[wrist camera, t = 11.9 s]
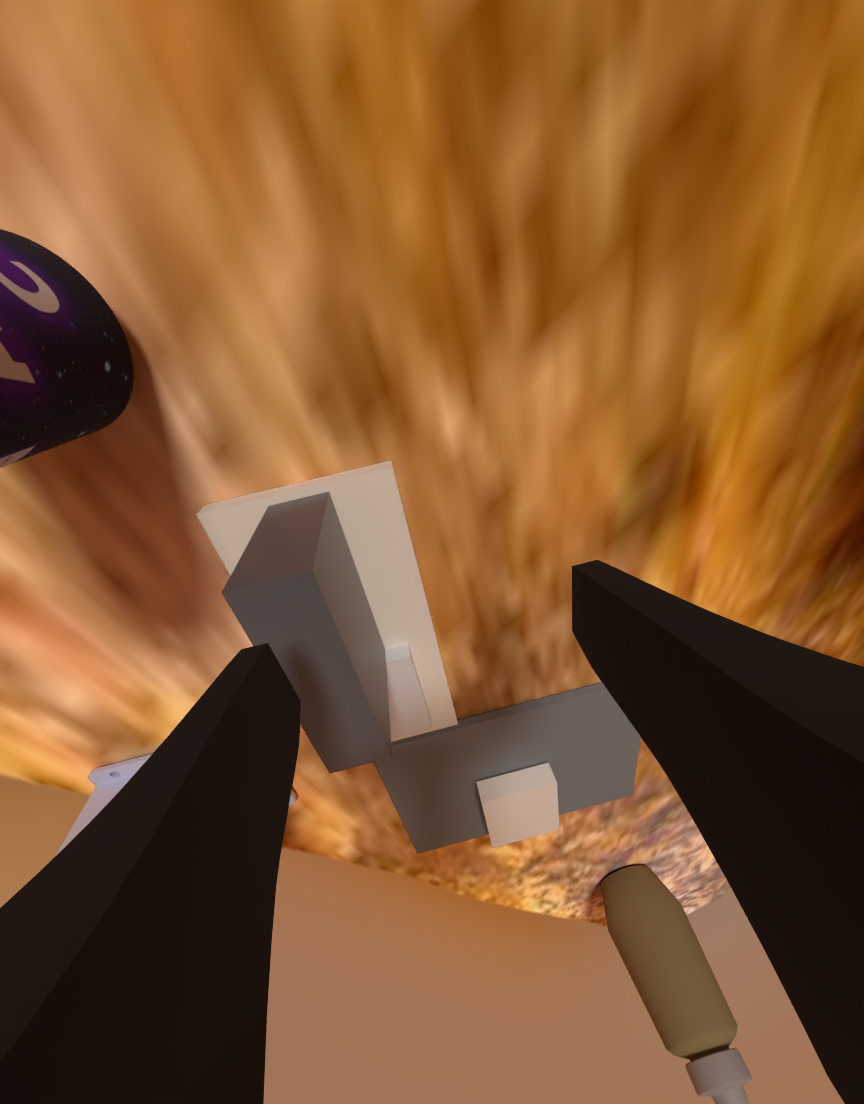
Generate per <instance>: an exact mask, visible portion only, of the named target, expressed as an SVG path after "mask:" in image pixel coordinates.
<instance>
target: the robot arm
mask: <svg viewBox="0 0 864 1104" xmlns="http://www.w3.org/2000/svg"><path fill="white" fill-rule="evenodd" d="M572 631H573V633H574V635H575V637H576V639H577V641H578V643H579V645H580V647H581V648H582V650H583V652H584V654H585V656H586V658H587V659H588V661H589V663H590V665H591V667H592V668H593V670H594V671H595V673H596V674H597V676H598V677H599V679H600V680H601V681H602V683H603V684H604V686H605V687H606V689H607V690H608V691H609V693H610V694H611V696H612V697H613V699H614V700H615V701H616V703H617V704H618V706H619V707H620V708H621V710H622V711H623V713H624V714H625V715H626V717H627V718H628V720H629V721H630V722H631V724H632V725H633V727H634V728H635V729H636V731H637V732H638V734H639V735H640V736H641V738H642V739H643V741H644V742H645V744H646V745H647V746H648V748H649V749H650V751H651V752H652V753H653V755H654V756H655V758H656V759H657V761H658V762H659V764H660V765H661V767H662V768H663V770H664V771H665V773H666V775H667V776H668V778H669V779H670V781H671V783H672V784H673V786H674V788H675V790H676V791H677V793H678V795H679V796H680V798H681V800H682V802H683V803H684V805H685V807H686V808H687V810H688V812H689V813H690V815H691V817H692V819H693V820H694V822H695V824H696V825H697V827H698V829H699V831H700V833H701V834H702V836H703V838H704V840H705V841H706V843H707V845H708V847H709V849H710V850H711V852H712V854H713V856H714V857H715V859H716V861H717V863H718V865H719V866H720V868H721V870H722V872H723V874H724V875H725V877H726V879H727V881H728V882H729V884H730V886H731V888H732V890H733V892H734V894H735V896H736V897H737V899H738V901H739V903H740V905H741V907H742V909H743V910H744V912H745V914H746V916H747V918H748V920H749V922H750V924H751V925H752V927H753V929H754V931H755V933H756V935H757V937H758V939H759V940H760V942H761V944H762V946H763V948H764V950H765V952H766V954H767V956H768V957H769V960H770V961H771V963H772V965H773V967H774V969H775V971H776V973H777V975H778V977H779V979H780V981H781V983H782V985H783V987H784V989H785V991H786V993H787V995H788V997H789V999H790V1001H791V1003H792V1005H793V1007H794V1009H795V1011H796V1013H797V1015H798V1017H799V1019H800V1020H801V1023H802V1025H803V1026H804V1028H805V1030H806V1032H807V1035H808V1037H809V1039H810V1041H811V1043H812V1045H813V1047H814V1049H815V1051H816V1053H817V1055H818V1057H819V1059H820V1061H821V1063H822V1065H823V1067H824V1069H825V1072H826V1074H827V1076H828V1077H829V1079H830V1081H831V1082H832V1084H833V1085H834V1087H835V1088H836V1090H837V1092H838V1093H839V1095H840V1097H841V1098H842V1100H843V1101H844V1103H845V1104H864V667H862V666H859V665H856V664H852V663H849V662H846V661H843V660H840V659H836V658H833V657H830V656H828V655H825V654H822V653H819V652H816V651H813V650H810V649H807V648H804V647H801V646H798V645H795V644H793V643H790V642H787V641H784V640H781V639H778V638H776V637H773V636H770V635H768V634H765V633H762V632H760V631H757V630H754V629H752V628H749V627H747V626H744V625H742V624H740V623H737V622H735V621H732V620H730V619H727V618H725V617H722V616H720V615H717V614H715V613H713V612H710V611H708V610H706V609H703V608H701V607H699V606H696V605H694V604H692V603H690V602H687V601H685V600H683V599H681V598H679V597H676V596H674V595H672V594H670V593H668V592H666V591H663V590H661V589H659V588H657V587H655V586H653V585H651V584H648V583H646V582H644V581H642V580H640V579H638V578H636V577H634V576H632V575H630V574H627V573H625V572H623V571H621V570H619V569H617V568H615V567H612V566H610V565H608V564H606V563H603V562H601V561H599V560H595V561H591V562H587V563H583V564H579V565H575V566H572ZM300 711H301V700H300V699H299V697H298V695H297V693H296V692H295V690H294V688H293V686H292V685H291V683H290V681H289V679H288V677H287V676H286V674H285V672H284V670H283V669H282V667H281V665H280V663H279V662H278V660H277V658H276V656H275V655H274V653H273V651H272V649H271V648H270V646H269V644H268V643H265V644H261V645H257V646H253V647H249V648H245V649H241V651H240V652H239V653H238V654H237V655H236V656H235V657H234V658H233V659H232V660H231V662H230V663H229V664H228V665H227V666H226V667H225V669H224V670H223V671H222V672H221V673H220V675H219V676H218V677H217V678H216V679H215V681H214V682H213V683H212V684H211V686H210V687H209V688H208V689H207V690H206V692H205V693H204V694H203V695H202V696H201V698H200V699H199V700H198V701H197V703H196V704H195V705H194V706H193V707H192V708H191V710H190V711H189V712H188V713H187V714H186V716H185V717H184V718H183V719H182V720H181V722H180V723H179V724H178V725H177V726H176V728H175V729H174V730H173V731H172V732H171V734H170V735H169V736H168V737H167V738H166V739H165V741H164V742H163V743H162V744H161V745H160V746H159V747H158V748H157V750H156V751H155V752H154V753H153V754H150V755H146V756H142V757H138V758H134V759H130V760H126V761H122V762H119V763H115V764H111V765H107V766H103V767H99V768H96V769H93V770H92V771H91V773H90V774H89V776H88V779H89V781H90V782H92V783H93V784H94V785H95V786H96V787H95V789H94V791H93V793H92V794H91V796H90V798H89V800H88V801H87V803H86V805H85V806H84V808H83V810H82V811H81V813H80V815H79V817H78V818H77V820H76V822H75V823H74V825H73V827H72V828H71V830H70V832H69V834H68V835H67V837H66V839H65V841H64V842H63V844H62V846H61V847H60V849H59V851H58V852H57V854H56V856H55V857H54V858H53V859H52V860H51V861H50V862H49V864H47V865H46V866H45V867H44V868H43V869H42V870H41V871H40V872H39V873H38V874H37V875H36V876H35V877H34V878H32V879H31V880H30V881H29V882H28V883H27V884H26V885H25V886H24V887H23V888H22V889H21V890H19V891H18V892H17V893H16V894H15V895H14V896H13V897H12V898H11V899H10V900H9V901H8V902H7V903H5V904H4V905H3V906H2V907H1V908H0V1104H263V1098H264V1074H265V1073H264V1072H265V1048H266V1046H265V1045H266V1023H267V1003H268V988H269V971H270V956H271V941H272V929H273V917H274V905H275V892H276V882H277V874H278V867H279V860H280V854H281V848H282V842H283V836H284V831H285V825H286V819H287V813H288V807H289V805H292V804H294V803H295V801H296V794H295V793H294V791H293V790H292V784H293V779H294V772H295V766H296V760H297V754H298V748H299V736H300Z"/></svg>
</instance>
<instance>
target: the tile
mask: <svg viewBox="0 0 864 1104" xmlns="http://www.w3.org/2000/svg"><path fill="white" fill-rule="evenodd" d="M476 783H477V787H478V791H479V795H480V799H481V803H482V807H483V811H484V815H485V819H486V823H487V827H488V831H489V835H490V839H491V843H492V847H493V848H494V847H498V846H501V845H505V844H509V843H512V842H516V841H520V840H523V839H527V838H530V837H534V836H538V835H541V834H545V833H549V832H552V831H556V830H559V812H558V791H557V781H556V779H555V777H554V774H553V772H552V770H551V767H550V765H549V763H545V764H541V765H537V766H533V767H530V768H526V769H522V770H519V771H515V772H511V773H507V774H504V775H500V776H496V777H493V778H489V779H485V780H481V781H478V782H476Z"/></svg>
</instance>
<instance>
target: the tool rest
mask: <svg viewBox="0 0 864 1104" xmlns="http://www.w3.org/2000/svg"><path fill="white" fill-rule="evenodd" d="M325 492H329V493H330V495H331V498H332V501H333V504H334V507H335V509H336V512H337V515H338V518H339V521H340V523H341V526H342V529H343V532H344V535H345V538H346V540H347V543H348V546H349V549H350V552H351V554H352V557H353V560H354V563H355V566H356V568H357V571H358V574H359V577H360V580H361V583H362V585H363V588H364V591H365V594H366V597H367V599H368V602H369V605H370V608H371V611H372V614H373V616H374V619H375V622H376V625H377V628H378V630H379V633H380V636H381V639H382V642H383V644H384V647H385V649H386V648H390V647H394V646H398V645H402V644H406V643H408V644H409V647H410V650H411V654H412V657H413V660H414V663H415V666H416V670H417V673H418V676H419V679H420V683H421V686H422V689H423V692H424V696H425V699H426V702H427V705H428V709H429V712H430V716H431V722H432V728H433V729H429V730H425V731H421V732H417V733H414V734H410V735H406V736H402V737H398V738H395V739H391V742H393V741H397V740H400V739H404V738H408V737H412V736H416V735H419V734H423V733H427V732H431V731H435V730H438V729H442V728H446V727H450V726H454V725H457V724H458V722H457V718H456V714H455V710H454V706H453V702H452V698H451V694H450V690H449V686H448V682H447V678H446V674H445V670H444V667H443V663H442V659H441V655H440V651H439V647H438V643H437V639H436V635H435V631H434V627H433V623H432V619H431V615H430V612H429V608H428V604H427V600H426V596H425V592H424V588H423V584H422V580H421V576H420V572H419V568H418V564H417V560H416V556H415V553H414V549H413V545H412V541H411V537H410V533H409V529H408V525H407V521H406V517H405V513H404V509H403V505H402V501H401V498H400V494H399V490H398V486H397V482H396V478H395V474H394V470H393V466H392V462H391V461H387V462H383V463H378V464H374V465H370V466H366V467H362V468H357V469H353V470H349V471H345V472H341V473H336V474H332V475H328V476H324V477H320V478H315V479H311V480H307V481H303V482H299V483H294V484H290V485H286V486H282V487H278V488H273V489H269V490H265V491H261V492H257V493H253V494H248V495H244V496H240V497H236V498H232V499H227V500H223V501H219V502H215V503H211V504H206V505H204V506H203V507H202V509H201V510H200V511H199V512H198V513H197V514H196V516H197V517H198V519H199V521H200V523H201V524H202V526H203V528H204V530H205V531H206V533H207V535H208V537H209V539H210V540H211V542H212V544H213V546H214V547H215V549H216V551H217V553H218V554H219V556H220V558H221V560H222V561H223V563H224V565H225V567H226V569H227V570H228V572H229V574H230V576H231V574H232V572H233V571H234V569H235V567H236V565H237V563H238V561H239V559H240V558H241V556H242V554H243V552H244V550H245V548H246V546H247V545H248V543H249V541H250V539H251V537H252V535H253V534H254V532H255V530H256V528H257V526H258V524H259V522H260V521H261V519H262V517H263V515H264V513H265V511H266V509H267V508H268V506H270V505H275V504H279V503H283V502H287V501H291V500H295V499H300V498H304V497H308V496H312V495H316V494H320V493H325Z"/></svg>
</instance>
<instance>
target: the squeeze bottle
mask: <svg viewBox="0 0 864 1104" xmlns="http://www.w3.org/2000/svg"><path fill="white" fill-rule="evenodd" d="M601 889H602V895H603V901H604V907H605V913H606V919H607V925H608V931H609V933H610V935H611V937H612V939H613V941H614V943H615V945H616V947H617V949H618V951H619V954H620V955H621V957H622V960H623V962H624V964H625V966H626V968H627V970H628V972H629V974H630V976H631V978H632V980H633V982H634V984H635V986H636V988H637V990H638V992H639V994H640V996H641V998H642V1001H643V1003H644V1005H645V1006H646V1009H647V1011H648V1013H649V1015H650V1017H651V1019H652V1021H653V1023H654V1025H655V1027H656V1029H657V1031H658V1033H659V1035H660V1037H661V1039H662V1041H663V1043H664V1045H665V1047H666V1049H667V1050H668V1051H669V1052H671V1053H672V1054H673V1055H675V1056H679V1057H682V1058H686V1059H690V1061H691V1062H689V1063H687V1064H686V1070H687V1072H688V1074H689V1076H690V1079H691V1081H692V1083H693V1085H694V1088H695V1090H696V1092H697V1095H699V1096H711V1097H712V1098H713V1100H714V1101H715V1103H716V1104H749V1101H748V1099H747V1096H746V1093H745V1091H744V1085H745V1084H747V1083H748V1082H749V1081H751V1080H752V1076H751V1074H750V1072H749V1070H748V1068H747V1066H746V1064H745V1062H744V1060H743V1058H742V1056H741V1054H740V1053H739V1051H738V1049H735V1048H733V1049H729V1045H730V1044H731V1042H732V1041H733V1039H734V1038H735V1036H736V1032H737V1023H736V1021H735V1019H734V1017H733V1015H732V1013H731V1011H730V1008H729V1006H728V1004H727V1002H726V1000H725V998H724V995H723V994H722V991H721V989H720V987H719V985H718V983H717V981H716V978H715V976H714V974H713V972H712V970H711V967H710V966H709V963H708V961H707V959H706V957H705V955H704V953H703V950H702V948H701V946H700V944H699V942H698V940H697V937H696V935H695V933H694V931H693V929H692V927H691V925H690V923H689V920H688V918H687V916H686V914H685V912H684V909H683V907H682V905H681V903H680V902H679V901H678V900H677V899H676V898H675V896H674V895H673V894H672V893H671V892H670V891H669V890H668V888H667V887H666V886H665V885H664V884H663V883H662V882H661V880H660V879H659V878H658V877H657V876H656V875H655V874H654V872H653V871H652V870H651V869H650V868H649V867H647V866H643V865H637V866H630V867H626V868H623V869H620V870H618V871H616V872H614V873H612V874H610V875H609V876H608V877H606V878H605V879H604V880H603V881H602V883H601Z"/></svg>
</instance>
